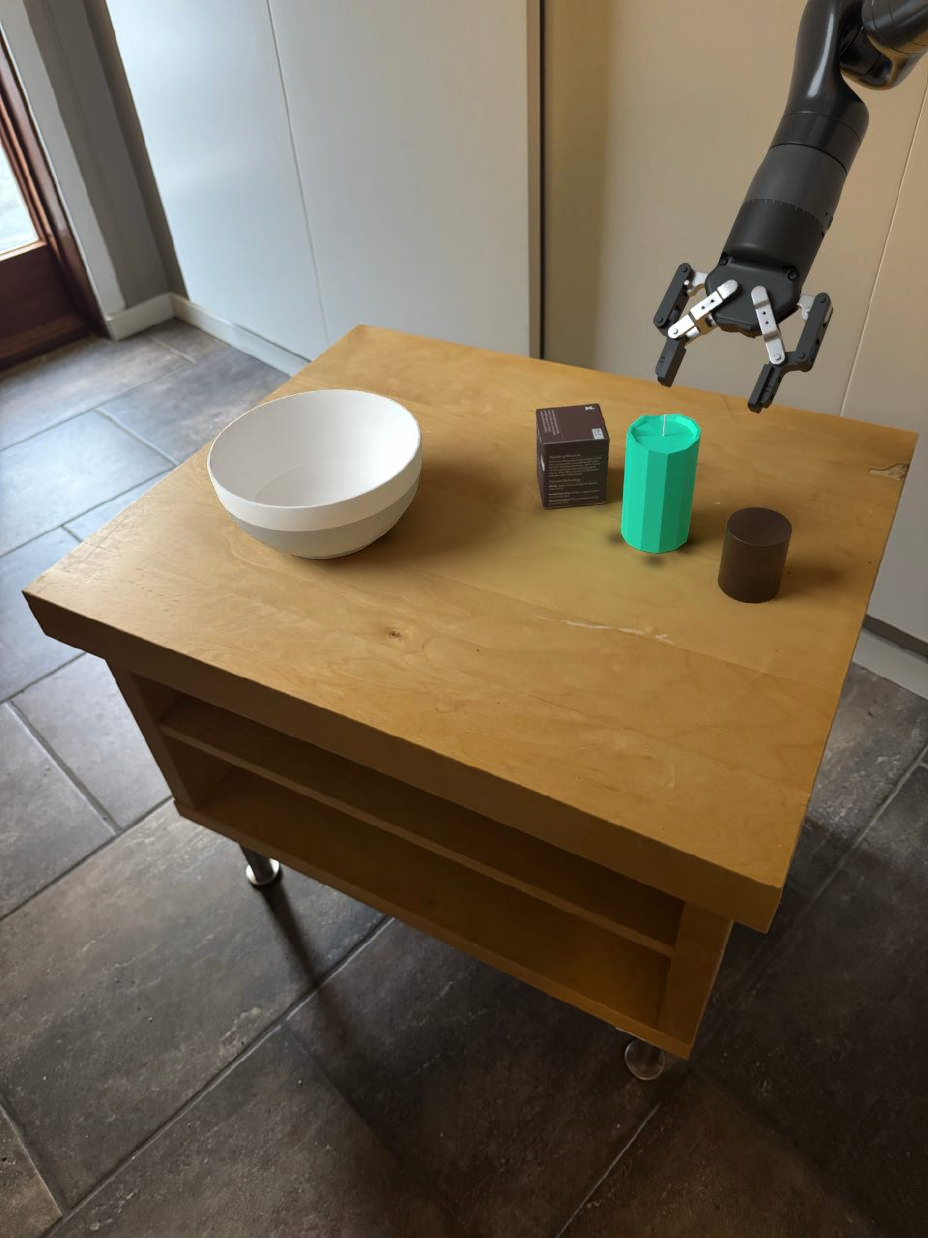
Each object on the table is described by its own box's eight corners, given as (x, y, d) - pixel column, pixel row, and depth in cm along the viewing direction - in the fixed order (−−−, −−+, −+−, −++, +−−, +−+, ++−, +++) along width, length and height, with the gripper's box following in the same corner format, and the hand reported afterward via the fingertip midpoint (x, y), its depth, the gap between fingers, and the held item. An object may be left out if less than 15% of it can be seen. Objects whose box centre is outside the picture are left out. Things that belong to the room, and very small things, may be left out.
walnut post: (792, 582, 77) (805, 524, 73) (756, 611, 75) (768, 554, 71) (741, 555, 80) (751, 499, 76) (705, 584, 78) (713, 527, 74)
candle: (699, 523, 84) (715, 405, 76) (672, 560, 80) (685, 441, 72) (638, 504, 86) (646, 388, 78) (609, 540, 83) (615, 423, 75)
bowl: (386, 605, 79) (372, 523, 73) (192, 570, 84) (164, 491, 78) (457, 479, 91) (450, 400, 85) (286, 455, 97) (268, 379, 91)
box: (536, 473, 91) (534, 407, 86) (597, 468, 91) (599, 401, 86) (543, 510, 87) (542, 443, 82) (607, 505, 87) (610, 437, 82)
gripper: (696, 182, 80) (621, 362, 81) (862, 210, 73) (777, 405, 75) (717, 224, 86) (647, 389, 88) (871, 253, 80) (793, 432, 81)
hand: (707, 396), depth 81 cm, fingers open, 8 cm apart
